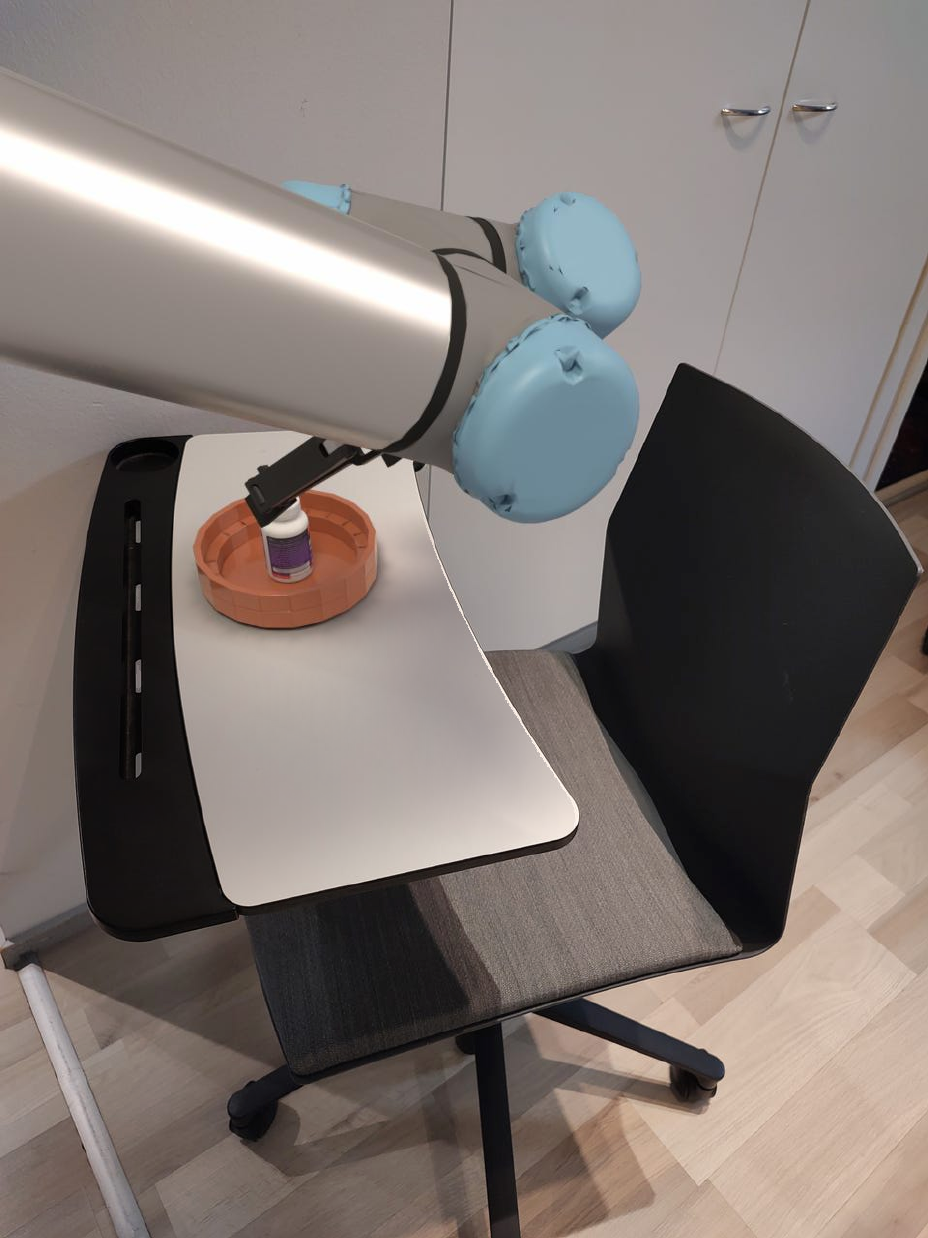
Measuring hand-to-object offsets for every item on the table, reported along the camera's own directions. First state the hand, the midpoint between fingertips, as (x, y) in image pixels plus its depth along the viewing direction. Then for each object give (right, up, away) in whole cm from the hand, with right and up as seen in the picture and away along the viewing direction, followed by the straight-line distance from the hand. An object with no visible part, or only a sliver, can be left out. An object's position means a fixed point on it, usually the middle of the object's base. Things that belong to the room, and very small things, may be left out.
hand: (322, 481), depth 75 cm
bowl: (-5, -7, +14) cm, 16 cm away
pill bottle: (-5, -7, +13) cm, 16 cm away
